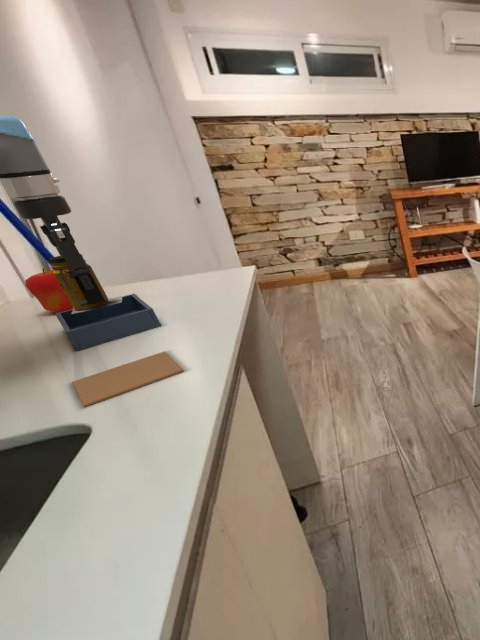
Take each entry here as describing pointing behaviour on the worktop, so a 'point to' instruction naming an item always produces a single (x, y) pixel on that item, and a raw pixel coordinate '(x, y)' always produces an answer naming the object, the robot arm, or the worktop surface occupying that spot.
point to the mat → (125, 378)
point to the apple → (48, 292)
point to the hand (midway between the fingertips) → (94, 299)
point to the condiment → (73, 289)
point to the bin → (108, 322)
